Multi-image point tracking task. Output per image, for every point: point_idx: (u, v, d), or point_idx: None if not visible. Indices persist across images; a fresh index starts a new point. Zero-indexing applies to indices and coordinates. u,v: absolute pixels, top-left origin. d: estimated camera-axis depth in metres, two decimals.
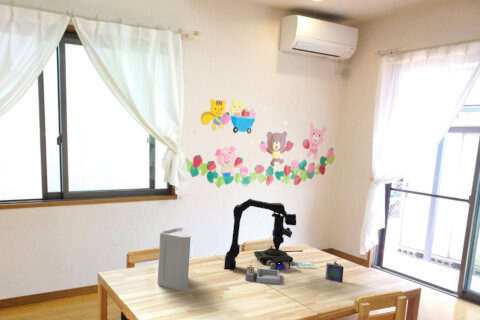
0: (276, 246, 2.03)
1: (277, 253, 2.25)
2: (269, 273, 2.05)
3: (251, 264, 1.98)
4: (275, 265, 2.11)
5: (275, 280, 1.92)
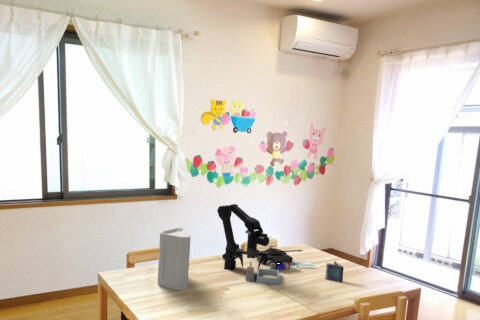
0: (241, 260, 2.00)
1: (277, 253, 2.26)
2: (269, 273, 2.05)
3: (251, 264, 1.98)
4: (275, 265, 2.11)
5: (275, 280, 1.92)
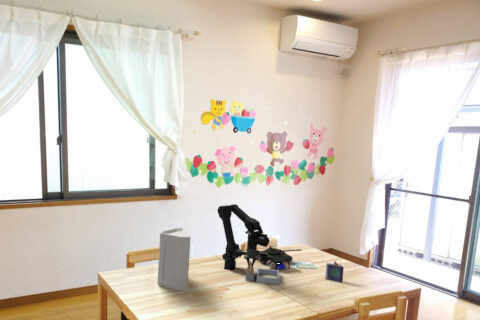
0: None
1: (277, 253, 2.26)
2: (269, 273, 2.05)
3: (251, 264, 1.98)
4: (275, 265, 2.11)
5: (275, 280, 1.92)
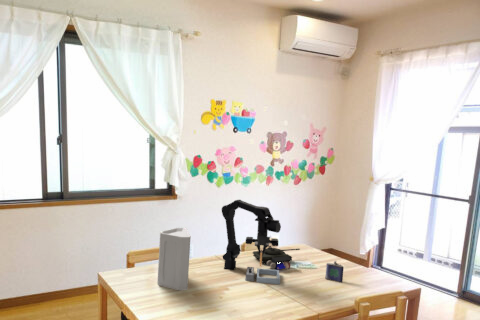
0: (258, 249, 1.99)
1: (277, 252, 2.27)
2: (269, 273, 2.05)
3: None
4: (275, 265, 2.11)
5: (275, 280, 1.92)
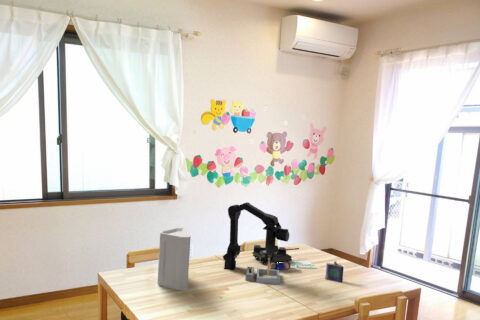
0: (266, 257, 1.99)
1: None
2: (269, 273, 2.05)
3: (269, 261, 1.97)
4: (275, 265, 2.11)
5: (275, 280, 1.92)
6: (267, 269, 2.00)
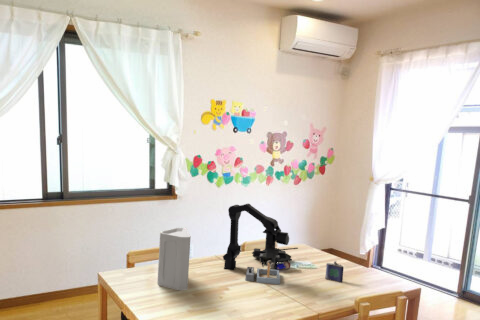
0: None
1: None
2: (269, 273, 2.05)
3: (269, 266, 1.97)
4: None
5: (275, 280, 1.92)
6: (267, 274, 2.00)
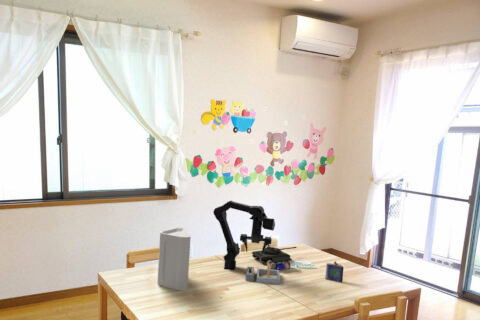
0: None
1: (276, 251, 2.28)
2: (269, 273, 2.05)
3: (269, 266, 1.97)
4: (275, 265, 2.11)
5: (275, 280, 1.92)
6: (267, 274, 2.00)
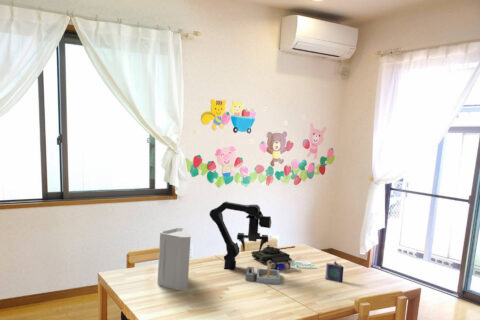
0: (242, 244, 2.08)
1: (276, 251, 2.29)
2: (269, 273, 2.05)
3: (269, 266, 1.97)
4: (275, 265, 2.11)
5: (275, 280, 1.92)
6: (267, 274, 2.00)
